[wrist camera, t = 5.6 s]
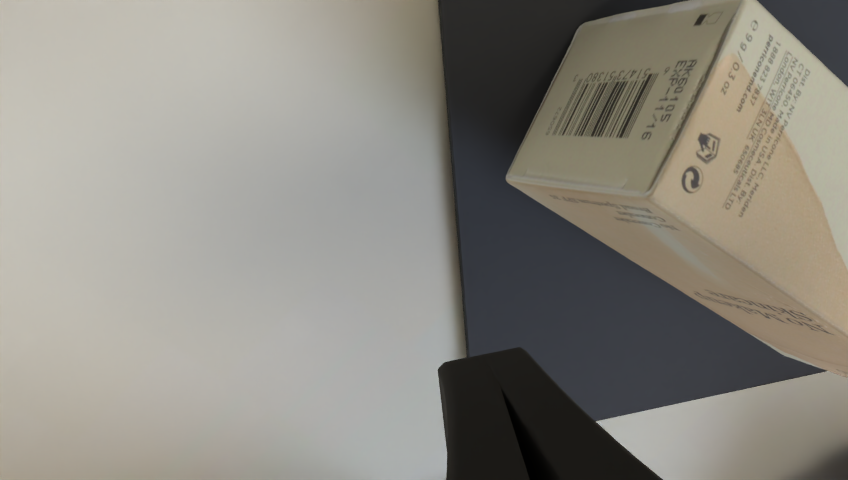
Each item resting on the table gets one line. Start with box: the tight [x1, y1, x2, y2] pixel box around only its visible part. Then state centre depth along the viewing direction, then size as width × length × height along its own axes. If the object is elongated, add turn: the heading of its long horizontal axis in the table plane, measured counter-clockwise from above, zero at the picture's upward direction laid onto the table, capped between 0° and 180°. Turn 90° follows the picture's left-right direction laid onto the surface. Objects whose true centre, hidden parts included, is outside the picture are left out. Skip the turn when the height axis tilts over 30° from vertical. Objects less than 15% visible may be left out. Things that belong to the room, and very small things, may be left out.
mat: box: [438, 0, 848, 421], centre depth 20 cm, size 20×20×1 cm
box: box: [506, 0, 848, 377], centre depth 18 cm, size 5×4×11 cm
